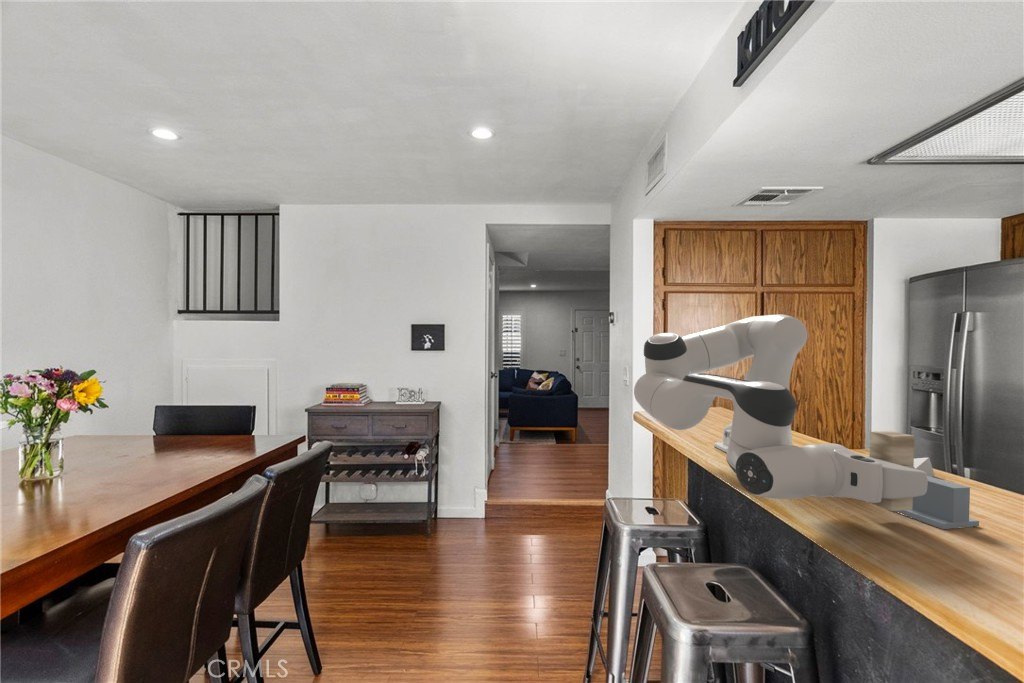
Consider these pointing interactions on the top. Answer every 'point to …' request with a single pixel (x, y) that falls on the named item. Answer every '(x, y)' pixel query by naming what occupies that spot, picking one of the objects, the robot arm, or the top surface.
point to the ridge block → (943, 505)
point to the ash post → (893, 460)
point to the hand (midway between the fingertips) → (895, 466)
